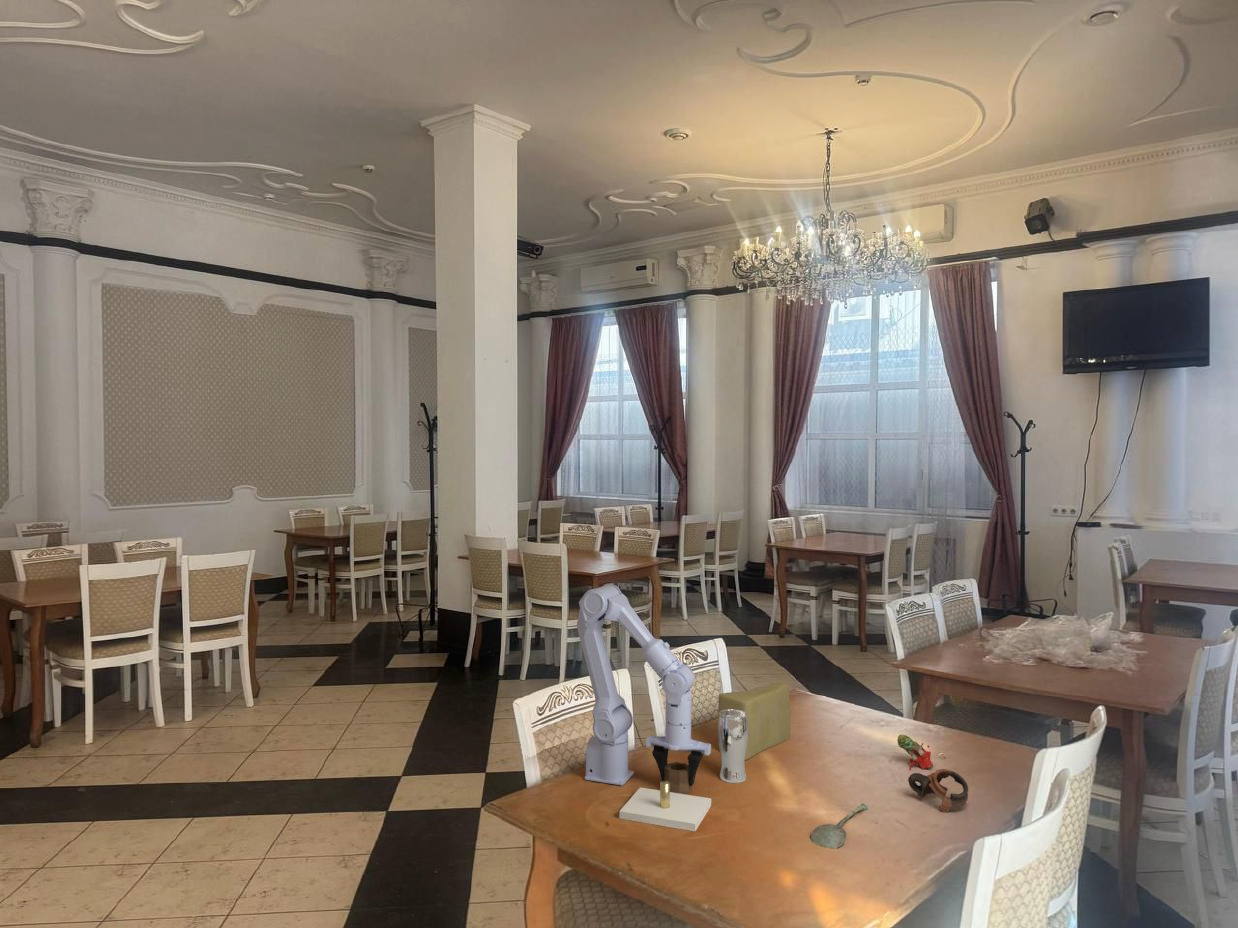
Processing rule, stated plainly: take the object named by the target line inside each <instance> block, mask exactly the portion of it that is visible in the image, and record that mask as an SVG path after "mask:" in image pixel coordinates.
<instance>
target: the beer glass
mask: <svg viewBox="0 0 1238 928" xmlns="http://www.w3.org/2000/svg"><path fill="white" fill-rule="evenodd" d="M717 722H718V721H717ZM717 724H718V725H717V737H718V739H717V740H718V747H719V746H720V750H719V752H720V759H721V765H720V772H719V778H720V780H721V781H722V782H726V783H729V784H741V783H743V782H745V781H746V780H747V775H746V768H745V767H746V766H745V761H746V760H745V754H746V749H747V743H748V714H747V713H746V712H744V711H742V710H736V709H726V710H722V711H720V712H719V722H718V723H717Z"/></svg>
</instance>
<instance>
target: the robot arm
mask: <svg viewBox="0 0 1238 928" xmlns="http://www.w3.org/2000/svg"><path fill="white" fill-rule="evenodd" d="M578 605H579V611H578V617H577V622H576V627H577V628H576V629H577V632H578V636H579V641H580V644H581V649H582V653H583V655H584V659H585V660H584V661H585V664H586V668H587V671H588V675H589V676H588V677H589V680H590V683H591V688H592V692H593V696H594V700H595V702H594V705H593V709H592V717H593V718H592V719H593V722H592V732H593V736H591V737H589V739H588V741H587V744H586V749H585V750H586V751H585V776H584V780H585V781H591V782H599V783H602V784H603V783H604V784H611V785H617V786H624V785H625V784H626V783H627V782H628V780H630V778H631V777H633V775H634V774H635V771H633V770H629V733H628V731H629V730H630V729H631V727H632V725H633V722H634V720H633V719H634V718H633V717H634V716H633V714H632V712H631V710H630V709H629V708H628V707H627V705H626V701H625V699H624V697H623V696H621V695H620V694H619V693H618V689H617V685H616V682H615V678H614V673H613V669H612V666H611V661H610V657H609V654H608V650H607V646H606V643H605V639H604V638H605V637H604V633H603V631H602V626H603V625H604V624H605V622H606V621H612V622H618V623H620V625H621V626H622V627H623V628H624V629H625V630H626V631H627V632H628V634H630V636H631V637H632V638H633V639H634V640H635V641H636V643H638V645H639V646H640V647H641V648H642V651H641V653H642V654H641V655H642V658H643V659H644V660H645V661H646V662H647V664H648V665H649V666H650V667H651V669H652V670H653V671H654V672H655V674H656V675H657V676H658V677H659V679H661V680H662V681H661V687H662V690H663V692H664V693H665V735H664V736H656V735H655V736H653V735H648V736H647V737H646V738H645V746H646V748H653V749H652V752H651V753H652V757H653V759H654V760H655V763H656V764H657V768H658V770H659V774H660V779H661V781H664V767H665V766H666V765H667V764H668V757H669V750H671V751H682V752H689V754H688V756H687V761H688V762H687V763H688V765H689V786H691V787H693V786H694V784H695V780H696V774H697V771H698V768H699V766H700V763H701V760H702V759H703V756H710V755H711V753H712V744H711V743H707V742H702V741H699V740H697V739H696V740H695V739H693V738H692V689H691V688H692V687H694V685H695V681H696V677H695V674H694V671H693V670H692V667H690V665H687V664H684V663H683V661H682V660H681V659H680V660H679V659H678V658H677V656H676V655H675V654H674V652H673V651H671V649H670V644H669V642H667V641H666V642H664V640H663V639H661V638H659V639H658V638H655V637H654V636H653V634H652V633H651V632H650V631H649V629H648V628H647V627H646V625H645V624H644V622H643V621H642V620H641V618H640V617H639V616H638V614H637V612H635V610H634V608H633V607H632V606H631V604H630V602H629V600H628V597H627V596H626V595H625V594H624V593H622V591H621V590H620V588H619V587H618V586H617V585H615V584H612V583H607V584H605V585H602V586H599V587H596V588H592V589H591V588H590V589H588V590H586V591H585V593H584V594H583V595H582V597H581V598H580V599H579V601H578Z"/></svg>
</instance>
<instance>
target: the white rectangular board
mask: <svg viewBox="0 0 1238 928" xmlns="http://www.w3.org/2000/svg"><path fill="white" fill-rule="evenodd" d="M711 806H712V798H710V797H704V796H699V795H697V796H696V795H691V794H679V793H673V792H670V807H669V808H667V809H663V808H661V807H660V790H659V789H651V788H646V787H641V786H640V787H639V788H638V789H637V790H636V792H635V793H634V794H633V795H632V796H631V798H629V800H628V801H627V802H626V803H625V804H624V805H623V806H622V807H621V809H619V813H618V815H619V816H618V817H619V819H620V820H625V821H633V822H637V823H643V824H648V825H656V826H659V827H660V826H662V827H666V828H671V829H678V830H684V831H688V832H689V831H691V832H696V831H697V830H698V828H699V826H700V824H701V823H702V822H703V820H704V818H705V817H706V815H707V813H708V811H709V810H710V808H711Z"/></svg>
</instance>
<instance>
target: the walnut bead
mask: <svg viewBox="0 0 1238 928" xmlns="http://www.w3.org/2000/svg"><path fill="white" fill-rule="evenodd" d="M664 781H669V782H670V792H673V793H679V794H685V795H689V794H690V792H691V791H692V786H689V763H688V764H687V763H685V762H677V761H675V762H669V763H668V762H667V765H666V766H665V767H664Z"/></svg>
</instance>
